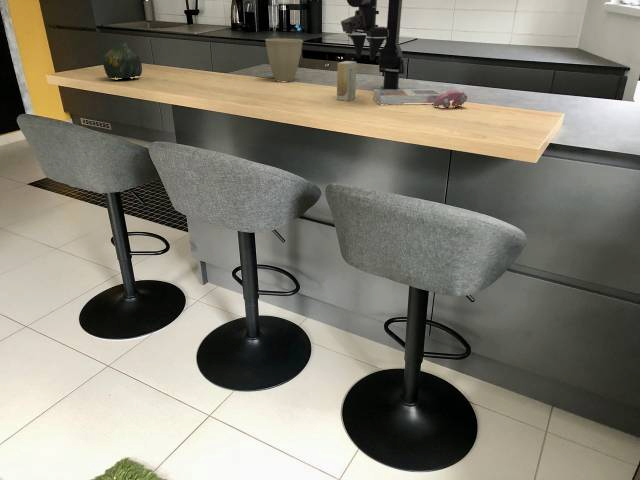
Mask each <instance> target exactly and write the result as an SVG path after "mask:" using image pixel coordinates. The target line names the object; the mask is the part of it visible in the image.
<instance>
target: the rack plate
mask: <svg viewBox="0 0 640 480" xmlns="http://www.w3.org/2000/svg"><path fill="white" fill-rule="evenodd" d="M442 93H443V92H441V91H439V90H438V89H434V88H433V89H431V88H429V89H426V88H424V89H419V88H418V89H417V88H416V89H414V88H412V89H410V88H409V89H406V88H403V89H401V88H400V89H382V88H380V89H379V88H378V89H376V88H375V89H373V99H374V98H375V99H376V100H377V101H378V102H379V103H380V104H404V103H434V101H435V100H436V99H437V98H438V96H439V95H440V94H442ZM375 99H374V100H375ZM376 100H375V101H376ZM377 101H376V102H377ZM378 102H377V103H378ZM379 103H378V104H379ZM380 104H379V105H380Z"/></svg>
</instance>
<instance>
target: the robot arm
mask: <svg viewBox="0 0 640 480" xmlns="http://www.w3.org/2000/svg"><path fill="white" fill-rule="evenodd" d="M346 2H347V3H348V5H349V6H350V7H352V8H358V9H356V10H355V11H354V15H353V16H350V17H348V18H345V19H343V20H341V21H340V24H341V28H342V32H343V33H345V34H346V35H347V37H349V38H350V40H351V41H352V43H353V47H354V52H355V56H356V58H359V59H360V58H361V55H362V52H363V49H364V45H365V42H366V41H367V42H368V47H369V50H368V51H369V60H370V61H374V60H375V59H376V56H377V54H378V53H379V54H380V55H379V58H378V71H379V73H384V74H383V86H380V89H401V88H400V87H399V83H400V75H403V74H405V71H406V65H405V61H404V57H403V50H402V48H401V46H400V43H399V42H400V31H401V20H402V19H401V18H402V7H403V6H402V5H403V0H388V7H387V20H386V21H387V22H386V27H385V26H379V24H377V23H376V22H377V15H379V14H380V11H379V10H378V9H377V6H378V0H346ZM384 42H385V44H384ZM383 44H384V46H383V47H382V48H381V46H382V45H383ZM379 50H380V51H379Z"/></svg>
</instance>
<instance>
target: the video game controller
mask: <svg viewBox="0 0 640 480" xmlns="http://www.w3.org/2000/svg"><path fill="white" fill-rule="evenodd" d="M441 93H442V94H440V95H439V96H438V98H437V99H436V100H435V101H434V104H433V105H432V106H433V107H434V106H437V107H436V108H438V107H440V106H441V105H442V107H443V108H444V107H449V108H450V106H455V107H457V106H458V107H460V106H459V105H461V106H462V105H464V103H466V102H467V100H468V95H467V94H466V93H465V92H463V90H457V89H456V90H455V89H451V90H448V91H443V92H441ZM451 101H452V102H451ZM458 107H457V108H458Z"/></svg>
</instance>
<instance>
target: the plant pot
mask: <svg viewBox="0 0 640 480" xmlns="http://www.w3.org/2000/svg"><path fill="white" fill-rule="evenodd" d="M264 40H265V47H266V52H267V57H268V58H267V59H268V60H269V61H268V62H269V66H270V69H271V72H272V75H273V78H274V80H279V81H292V82H293V81H294V80H295V77H296V74H297V71H298V68H299V64H300V60H301V54H302V48H303V41H304V40H303V39H298V38H297V39H296V38H266V39H264Z"/></svg>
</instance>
